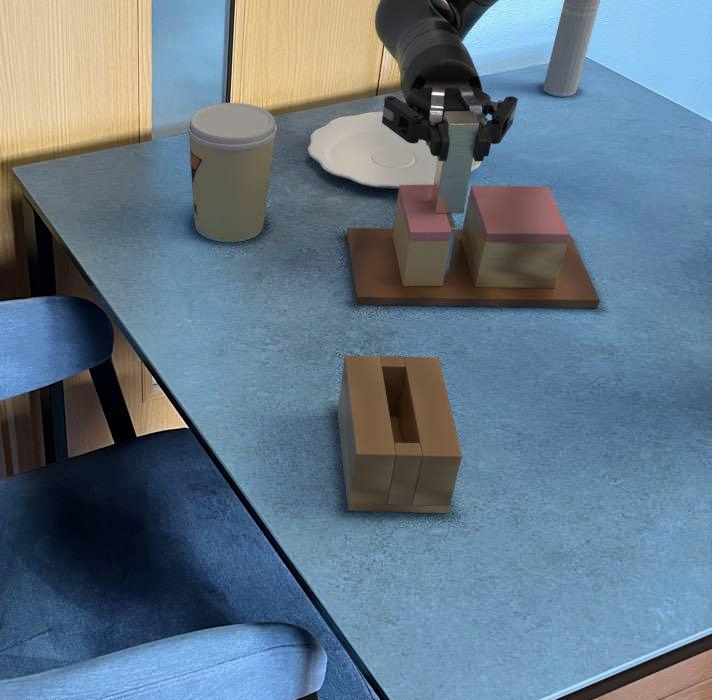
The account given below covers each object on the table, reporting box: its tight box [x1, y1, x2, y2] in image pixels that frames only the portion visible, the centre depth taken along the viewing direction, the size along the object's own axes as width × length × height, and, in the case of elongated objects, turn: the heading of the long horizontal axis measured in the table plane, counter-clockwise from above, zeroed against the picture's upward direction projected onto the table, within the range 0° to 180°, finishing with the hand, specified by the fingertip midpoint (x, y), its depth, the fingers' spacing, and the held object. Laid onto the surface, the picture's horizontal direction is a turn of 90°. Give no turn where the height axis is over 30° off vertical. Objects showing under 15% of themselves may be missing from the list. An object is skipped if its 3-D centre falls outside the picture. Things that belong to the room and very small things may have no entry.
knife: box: [431, 111, 479, 274], centre depth 102 cm, size 3×9×14 cm, turn 177°
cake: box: [346, 185, 601, 309], centre depth 106 cm, size 24×14×7 cm, turn 87°
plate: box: [307, 111, 483, 190], centre depth 126 cm, size 21×21×2 cm
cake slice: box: [393, 185, 452, 286], centre depth 106 cm, size 4×10×6 cm, turn 177°
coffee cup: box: [187, 102, 278, 243], centre depth 112 cm, size 9×9×12 cm
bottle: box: [543, 0, 601, 98], centre depth 134 cm, size 4×4×20 cm
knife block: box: [337, 355, 463, 514], centre depth 85 cm, size 8×13×6 cm, turn 177°
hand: (463, 151), depth 97 cm, fingers closed on knife, 3 cm apart
